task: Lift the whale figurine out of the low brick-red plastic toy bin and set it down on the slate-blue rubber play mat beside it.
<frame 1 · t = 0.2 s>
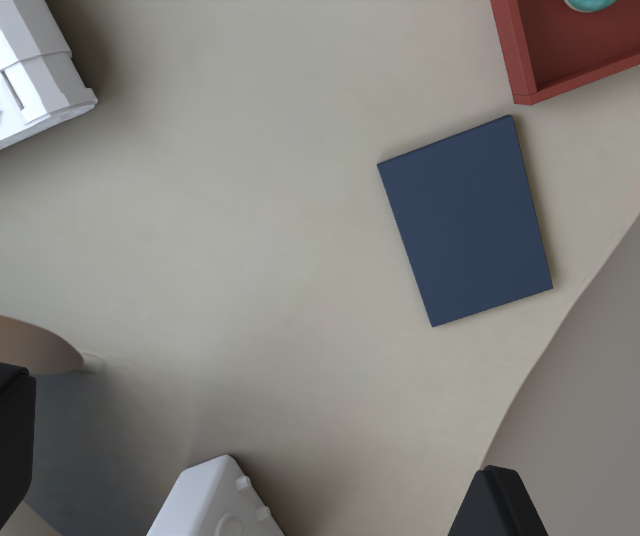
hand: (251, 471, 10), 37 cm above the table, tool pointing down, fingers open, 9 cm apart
radio: (247, 509, 60), on the table
play mat: (466, 226, 47), on the table
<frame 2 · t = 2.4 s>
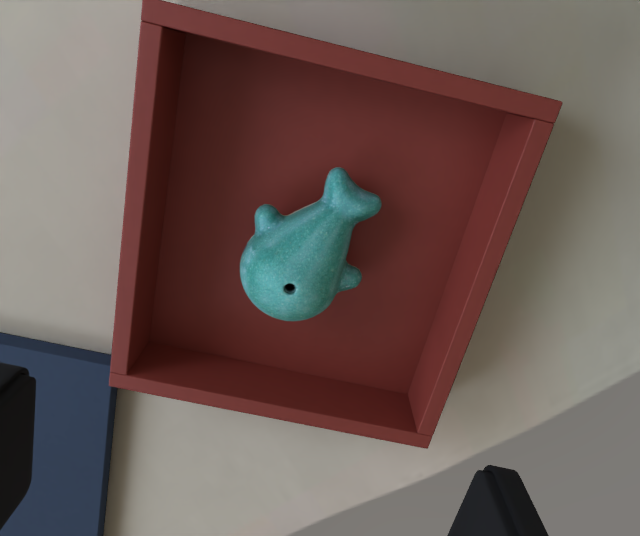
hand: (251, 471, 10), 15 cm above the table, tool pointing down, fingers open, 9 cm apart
play mat: (7, 457, 29), on the table
whale figurine: (311, 236, 24), resting on toy bin
toy bin: (311, 235, 24), on the table
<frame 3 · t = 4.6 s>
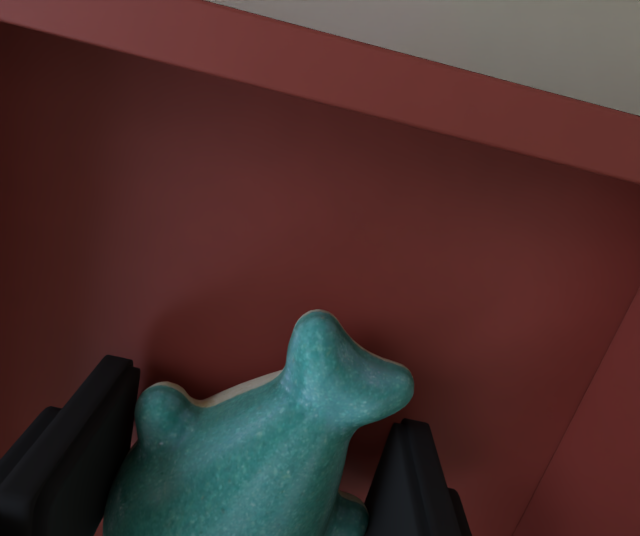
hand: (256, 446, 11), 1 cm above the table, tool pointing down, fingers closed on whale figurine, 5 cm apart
whale figurine: (268, 419, 12), resting on toy bin, touching gripper
toy bin: (262, 415, 12), on the table
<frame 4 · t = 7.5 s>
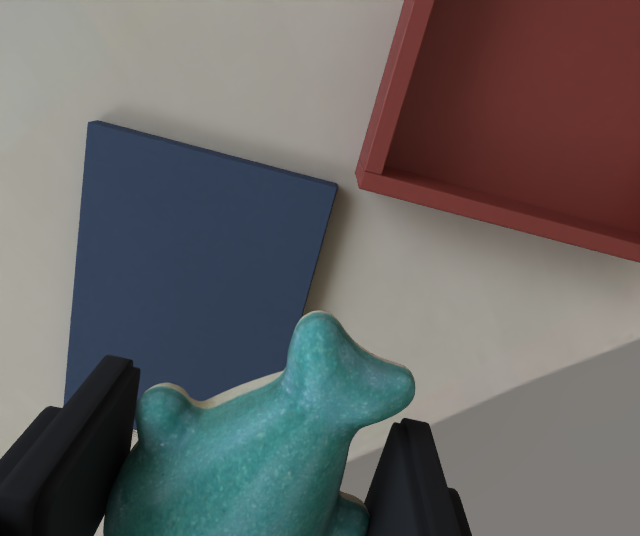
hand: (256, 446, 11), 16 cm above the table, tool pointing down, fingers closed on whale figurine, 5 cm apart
play mat: (191, 303, 27), on the table
whale figurine: (269, 420, 12), point 15 cm above the table, touching gripper
toy bin: (573, 38, 22), on the table
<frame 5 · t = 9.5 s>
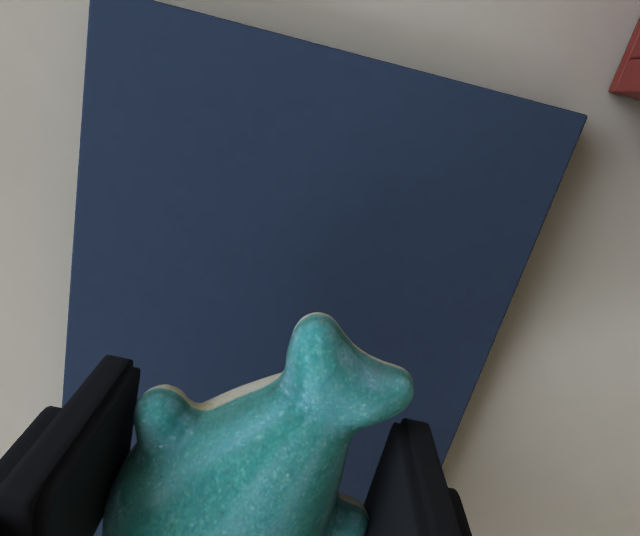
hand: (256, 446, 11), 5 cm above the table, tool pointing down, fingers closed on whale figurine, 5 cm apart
play mat: (277, 342, 15), on the table
whale figurine: (268, 422, 12), point 4 cm above the table, touching gripper
when the fingers open (2 cm above the table, at t = 10.9 s): whale figurine stays where it is, resting on play mat.
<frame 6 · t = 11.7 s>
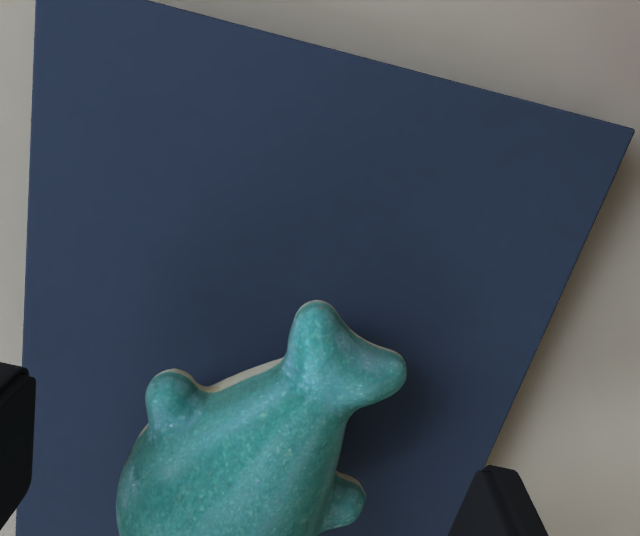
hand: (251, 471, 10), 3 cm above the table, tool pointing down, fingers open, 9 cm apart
play mat: (267, 387, 13), on the table
whale figurine: (270, 406, 13), point 1 cm above the table, touching play mat
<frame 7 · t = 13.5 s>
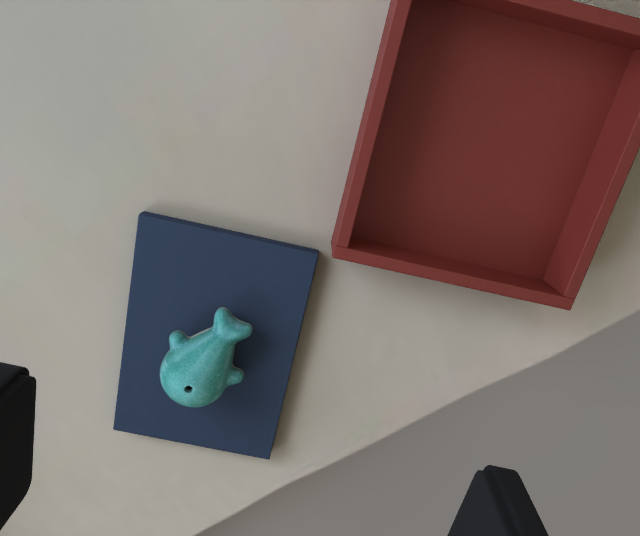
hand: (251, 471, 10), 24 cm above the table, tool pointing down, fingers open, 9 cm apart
play mat: (212, 341, 36), on the table
whale figurine: (212, 346, 36), point 1 cm above the table, touching play mat
toy bin: (479, 147, 32), on the table
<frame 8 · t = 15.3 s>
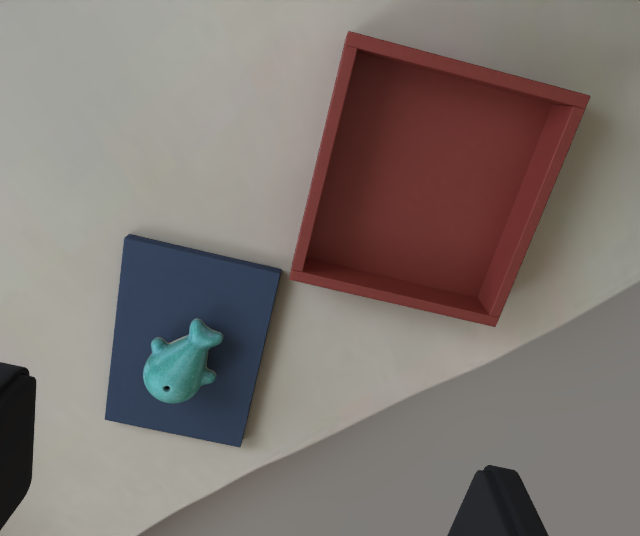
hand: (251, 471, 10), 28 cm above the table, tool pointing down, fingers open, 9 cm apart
play mat: (190, 345, 42), on the table
whale figurine: (189, 350, 41), point 1 cm above the table, touching play mat
toy bin: (420, 184, 37), on the table
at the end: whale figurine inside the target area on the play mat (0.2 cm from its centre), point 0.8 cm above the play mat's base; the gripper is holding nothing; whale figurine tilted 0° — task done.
